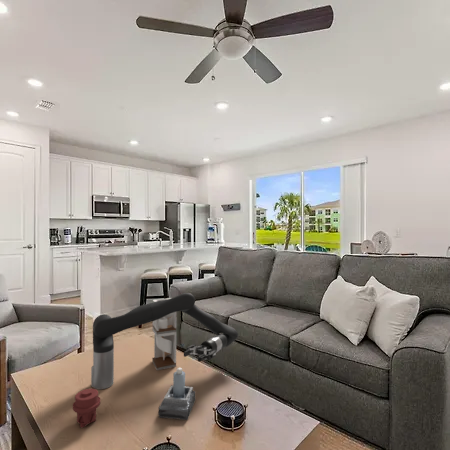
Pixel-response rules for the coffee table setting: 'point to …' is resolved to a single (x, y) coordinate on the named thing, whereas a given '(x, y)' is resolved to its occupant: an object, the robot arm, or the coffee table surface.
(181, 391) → the pale blue squeeze bottle
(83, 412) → the mechanical component
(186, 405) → the square grey open box
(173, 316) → the white shelf unit
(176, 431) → the coffee table surface
